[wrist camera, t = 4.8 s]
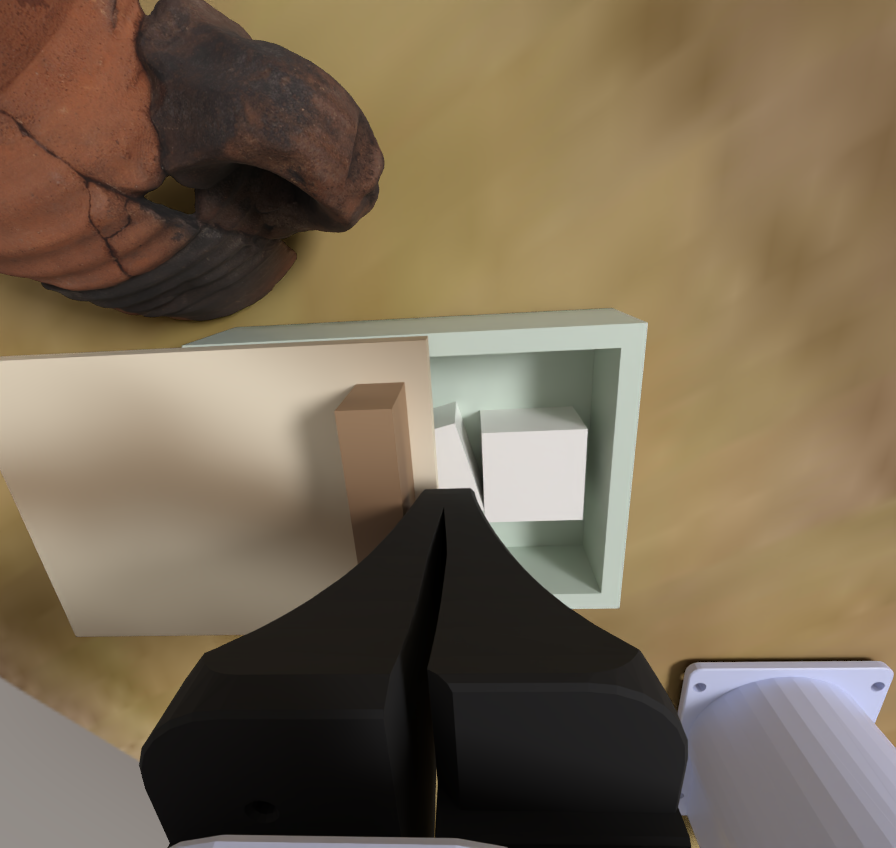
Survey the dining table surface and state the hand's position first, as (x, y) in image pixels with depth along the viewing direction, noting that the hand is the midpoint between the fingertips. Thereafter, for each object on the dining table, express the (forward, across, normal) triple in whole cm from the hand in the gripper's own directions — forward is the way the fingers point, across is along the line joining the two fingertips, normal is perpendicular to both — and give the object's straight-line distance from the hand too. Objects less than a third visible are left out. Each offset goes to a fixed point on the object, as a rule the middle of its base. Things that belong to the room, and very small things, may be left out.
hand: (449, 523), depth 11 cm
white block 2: (+4, -2, 0) cm, 5 cm away
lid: (+2, +6, 0) cm, 6 cm away
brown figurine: (+5, +7, -10) cm, 13 cm away
